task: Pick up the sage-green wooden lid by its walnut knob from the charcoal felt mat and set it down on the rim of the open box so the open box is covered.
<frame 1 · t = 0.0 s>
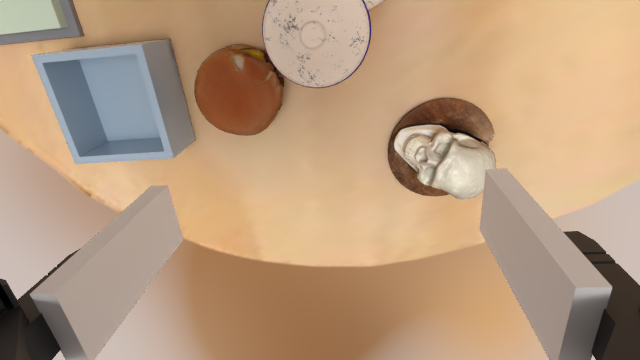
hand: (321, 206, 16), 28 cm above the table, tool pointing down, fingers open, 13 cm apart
open box: (136, 95, 44), on the table
teacup with lid: (336, 19, 38), on the table
burger: (244, 86, 42), on the table
skull: (439, 148, 43), on the table
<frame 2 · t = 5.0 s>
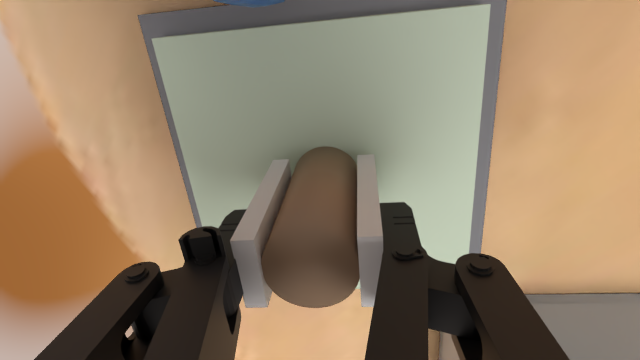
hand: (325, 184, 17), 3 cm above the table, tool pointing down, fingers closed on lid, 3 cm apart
mat: (329, 163, 20), on the table
lid: (328, 167, 19), point 1 cm above the table, touching gripper, mat
when the fingers open (9 cm above the table, at t = 9.8 s): lid drops 1 cm, resting on open box.
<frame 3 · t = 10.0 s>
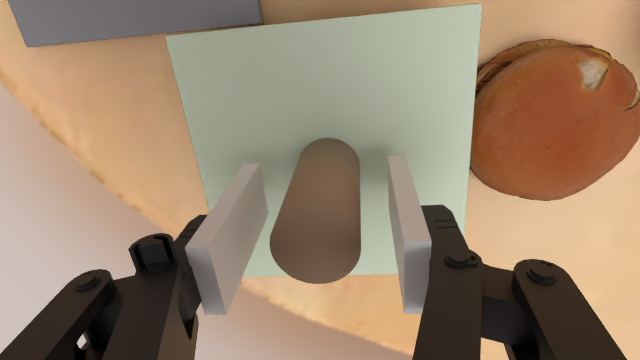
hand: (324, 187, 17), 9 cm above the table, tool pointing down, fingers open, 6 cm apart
burger: (525, 112, 25), on the table
lid: (330, 158, 20), point 6 cm above the table, touching open box
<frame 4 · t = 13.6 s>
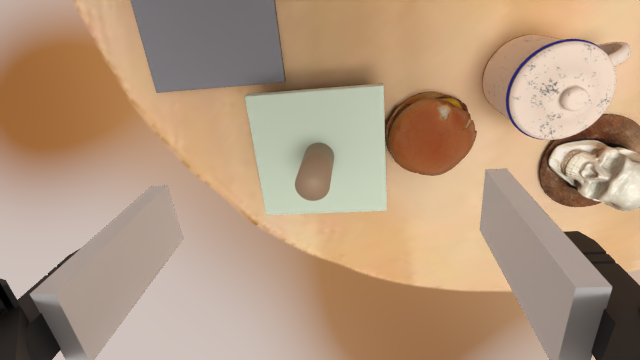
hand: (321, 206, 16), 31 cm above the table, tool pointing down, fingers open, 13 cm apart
teacup with lid: (534, 69, 41), on the table
burger: (425, 128, 45), on the table
mat: (205, 14, 42), on the table
skull: (589, 161, 45), on the table
lid: (320, 152, 41), point 6 cm above the table, touching open box
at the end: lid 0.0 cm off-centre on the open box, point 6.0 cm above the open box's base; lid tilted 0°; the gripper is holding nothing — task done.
